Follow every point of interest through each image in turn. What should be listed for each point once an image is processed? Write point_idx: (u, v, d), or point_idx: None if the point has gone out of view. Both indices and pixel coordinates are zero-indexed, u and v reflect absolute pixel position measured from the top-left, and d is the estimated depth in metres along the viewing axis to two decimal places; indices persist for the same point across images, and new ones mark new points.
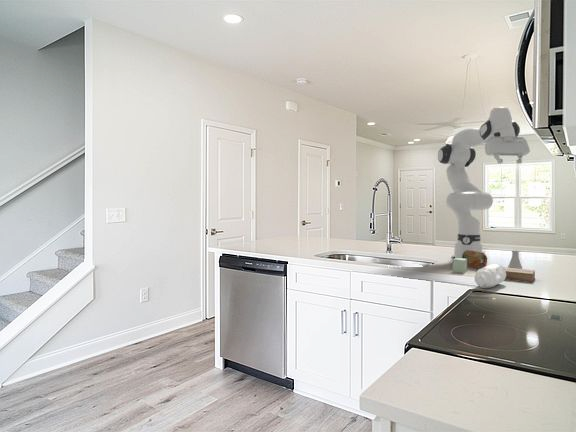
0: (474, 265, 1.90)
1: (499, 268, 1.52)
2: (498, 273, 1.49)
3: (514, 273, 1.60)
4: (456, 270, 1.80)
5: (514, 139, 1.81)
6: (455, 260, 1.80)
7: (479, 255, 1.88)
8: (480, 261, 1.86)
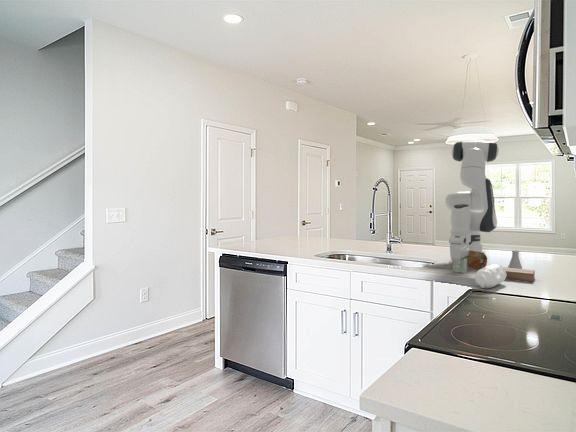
0: (474, 265, 1.90)
1: (499, 268, 1.52)
2: (498, 273, 1.49)
3: (514, 273, 1.60)
4: (456, 270, 1.80)
5: None
6: None
7: (479, 255, 1.88)
8: (480, 261, 1.86)
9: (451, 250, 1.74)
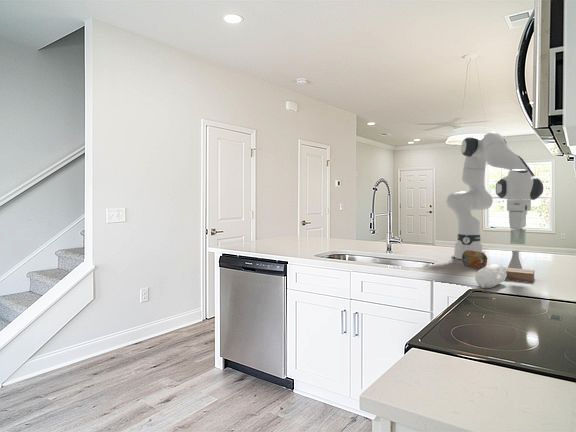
0: (474, 265, 1.90)
1: (500, 268, 1.52)
2: (499, 273, 1.49)
3: (514, 273, 1.60)
4: (514, 242, 1.62)
5: None
6: (513, 230, 1.62)
7: (479, 255, 1.88)
8: (480, 261, 1.86)
9: (511, 218, 1.56)
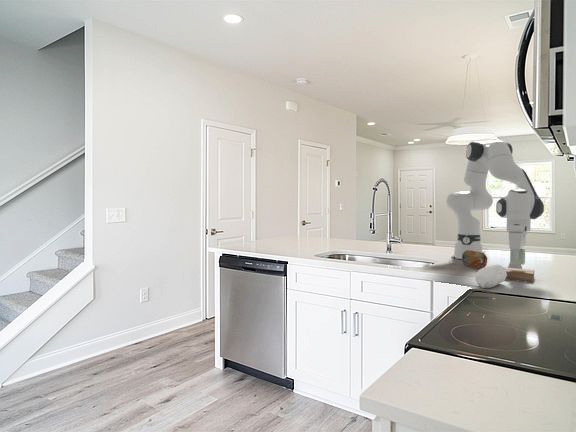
0: (474, 265, 1.90)
1: (500, 268, 1.52)
2: (499, 273, 1.49)
3: (514, 273, 1.60)
4: (514, 262, 1.62)
5: None
6: None
7: (479, 255, 1.88)
8: (480, 261, 1.86)
9: (510, 239, 1.56)
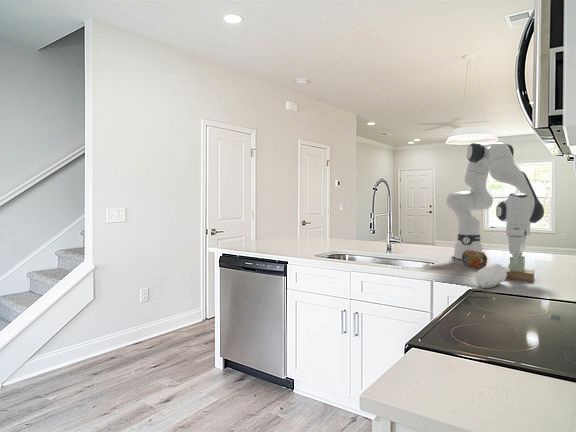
0: (474, 265, 1.90)
1: (500, 268, 1.52)
2: (499, 273, 1.49)
3: (515, 273, 1.60)
4: (513, 269, 1.62)
5: None
6: (512, 258, 1.63)
7: (479, 255, 1.88)
8: (480, 261, 1.86)
9: (510, 243, 1.57)
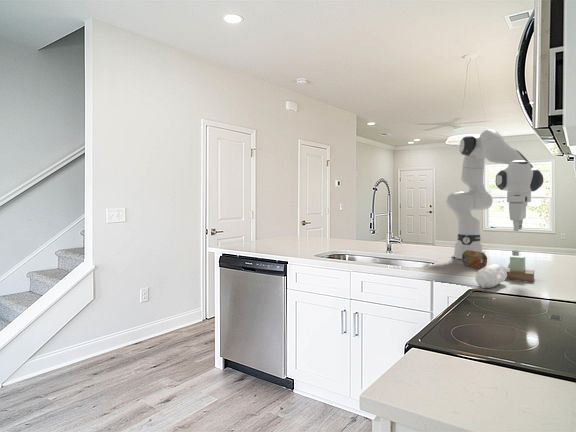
0: (474, 265, 1.90)
1: (500, 268, 1.52)
2: (499, 273, 1.49)
3: (515, 273, 1.60)
4: (514, 269, 1.63)
5: None
6: (512, 258, 1.63)
7: (479, 255, 1.88)
8: (480, 261, 1.86)
9: (511, 210, 1.56)
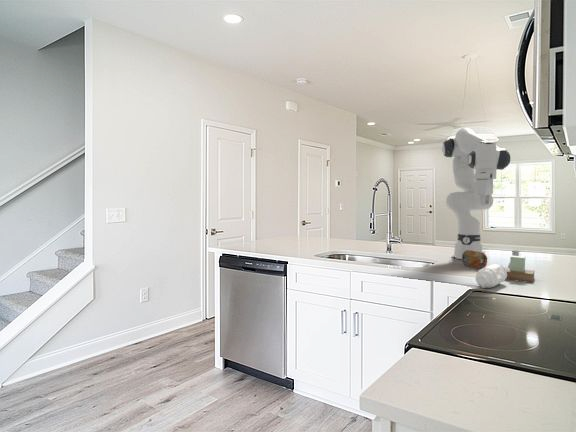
0: (474, 265, 1.90)
1: (500, 268, 1.52)
2: (499, 273, 1.49)
3: (514, 273, 1.60)
4: (514, 269, 1.62)
5: None
6: (513, 258, 1.63)
7: (479, 255, 1.88)
8: (480, 261, 1.86)
9: (477, 186, 1.72)
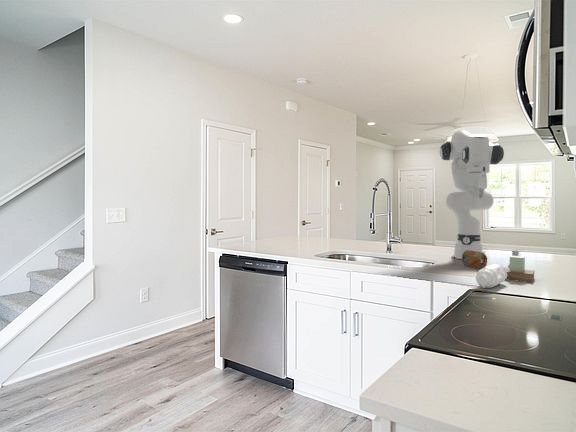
0: (474, 265, 1.90)
1: (500, 268, 1.52)
2: (499, 273, 1.49)
3: (514, 273, 1.60)
4: (513, 269, 1.62)
5: None
6: (512, 258, 1.63)
7: (479, 255, 1.88)
8: (480, 261, 1.86)
9: (470, 179, 1.75)
